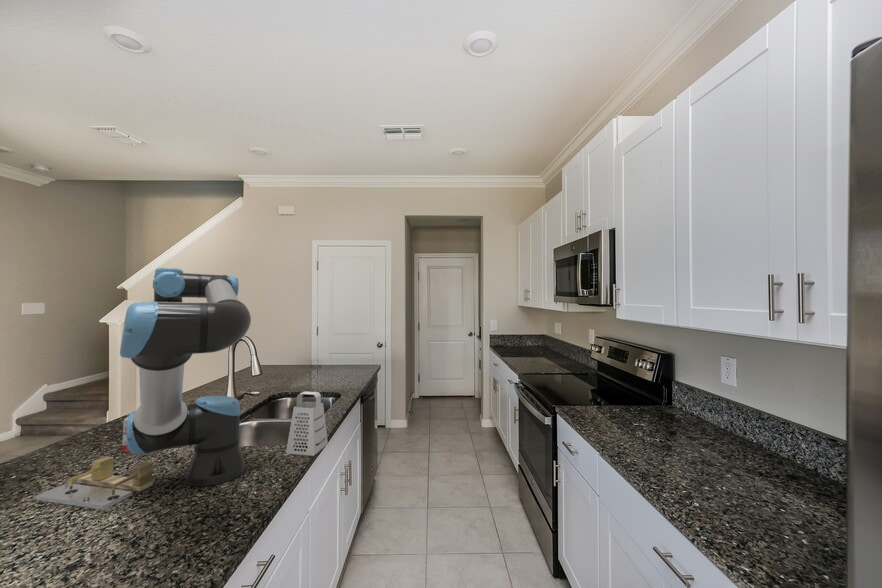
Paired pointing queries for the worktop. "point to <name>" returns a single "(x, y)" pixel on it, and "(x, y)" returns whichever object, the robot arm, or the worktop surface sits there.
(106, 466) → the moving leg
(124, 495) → the bolt plate
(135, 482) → the rail
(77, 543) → the worktop surface
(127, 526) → the worktop surface
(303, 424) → the grater
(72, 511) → the worktop surface
